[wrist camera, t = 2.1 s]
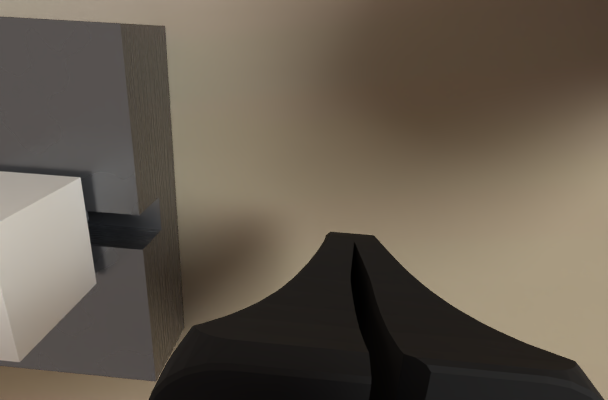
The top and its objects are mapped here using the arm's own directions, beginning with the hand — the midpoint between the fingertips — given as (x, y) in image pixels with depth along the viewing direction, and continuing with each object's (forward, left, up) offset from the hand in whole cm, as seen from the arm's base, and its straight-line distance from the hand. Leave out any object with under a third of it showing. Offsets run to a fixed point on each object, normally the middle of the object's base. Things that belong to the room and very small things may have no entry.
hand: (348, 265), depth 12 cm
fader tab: (0, +9, -2) cm, 10 cm away
